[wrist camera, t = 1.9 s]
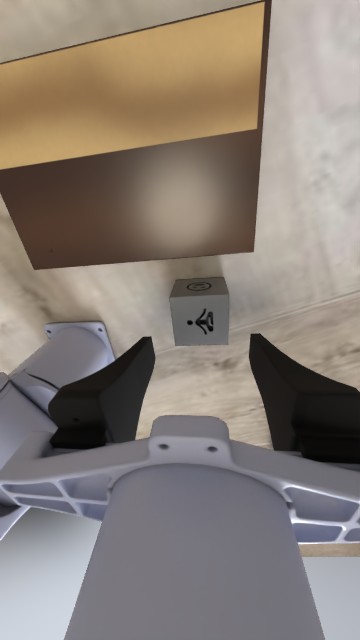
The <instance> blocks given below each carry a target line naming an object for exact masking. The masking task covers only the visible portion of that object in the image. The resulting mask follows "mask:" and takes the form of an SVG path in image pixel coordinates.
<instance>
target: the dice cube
mask: <svg viewBox="0 0 360 640" xmlns="http://www.w3.org/2000/svg"><path fill="white" fill-rule="evenodd" d="M169 301H170V308H171V316H172V324H173V332H174V339H175V346H190V345H228V333H229V292H228V289H227V285H226V282H225V279H224V277H213V278H197V279H182V280H176V281H175V284H174V286H173V289H172V291H171V294H170V297H169Z"/></svg>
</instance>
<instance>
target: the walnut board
mask: <svg viewBox="0 0 360 640" xmlns="http://www.w3.org/2000/svg"><path fill="white" fill-rule="evenodd" d="M271 4H272V0H261V1H257V2H253V3H249V4H245V5H240V6H236V7H232V8H228V9H224V10H220V11H215V12H211V13H207V14H203V15H199V16H194V17H190V18H186V19H182V20H178V21H174V22H169V23H165V24H161V25H157V26H153V27H149V28H144V29H140V30H136V31H132V32H128V33H124V34H119V35H115V36H111V37H107V38H103V39H99V40H94V41H90V42H86V43H82V44H78V45H73V46H69V47H65V48H61V49H57V50H53V51H48V52H44V53H40V54H36V55H32V56H28V57H23V58H19V59H15V60H11V61H7V62H3V63H0V193H1V195H2V198H3V200H4V202H5V205H6V207H7V209H8V211H9V214H10V216H11V218H12V220H13V223H14V225H15V227H16V230H17V232H18V234H19V236H20V239H21V241H22V243H23V246H24V248H25V250H26V252H27V255H28V257H29V259H30V262H31V264H32V266H33V268H34V270H39V269H52V268H64V267H77V266H89V265H101V264H114V263H126V262H138V261H151V260H163V259H176V258H188V257H200V256H213V255H225V254H238V253H250V252H254V241H255V227H256V213H257V199H258V185H259V171H260V157H261V143H262V129H263V115H264V101H265V87H266V73H267V60H268V46H269V32H270V18H271Z"/></svg>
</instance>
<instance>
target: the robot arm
mask: <svg viewBox="0 0 360 640" xmlns="http://www.w3.org/2000/svg"><path fill="white" fill-rule="evenodd" d="M100 328H101V329H102V330H100ZM44 329H45V331H46V333H47V335H48V337H49V341H48V342H47V343H45V344H44V345H43V346H42V347H41V348H39V349H38V350H37V351H36V352H35V353H34V354H32V355H31V356H30V357H29V358H28V359H26V360H25V361H24V362H23V363H22V364H20V365H19V366H18V367H17V368H16V369H15V370H13V371H12V372H11V373H10V374H9V375H7V374H5V373H4V372H0V540H1V539H2V538H3V537H4V536H5V534H6V533H7V532H8V531H9V529H10V528H11V527H12V526H13V524H14V523H15V522H16V521H17V520H18V519H19V518H20V517H21V516H22V515H23V514H24V513H25V512H26V511H27V510H28V509H29V508H30V507H37V508H42V509H49V510H53V511H58V512H63V513H67V514H71V515H75V516H80V517H84V518H88V519H92V520H97V521H101V522H102V524H101V528H100V530H99V533H98V536H97V540H96V543H95V546H94V549H93V552H92V555H91V558H90V561H89V564H88V568H87V570H86V573H85V577H84V580H83V583H82V586H81V589H80V592H79V595H78V598H77V601H76V604H75V608H74V611H73V614H72V617H71V620H70V623H69V626H68V629H67V632H66V635H65V638H64V640H325V638H324V634H323V630H322V627H321V623H320V620H319V616H318V613H317V609H316V606H315V602H314V599H313V596H312V592H311V588H310V585H309V582H308V578H307V574H306V571H305V567H304V564H303V560H302V557H301V553H300V550H299V546H298V544H315V543H360V392H359V391H358V390H357V389H356V388H354V387H351V386H348V385H346V384H343V383H340V382H337V381H334V380H332V379H329V378H327V377H325V376H322V375H320V374H318V373H316V372H314V371H312V370H310V369H308V368H306V367H304V366H302V365H301V364H299V363H297V362H296V361H294V360H293V359H291V358H289V357H288V356H287V355H285V354H284V353H283V352H281V351H280V350H279V349H277V348H276V347H275V346H274V345H272V344H271V343H270V342H269V341H268V340H267V339H266V338H264V337H263V336H262V335H261V334H260V333H259V334H251V337H250V349H249V360H250V365H251V369H252V372H253V375H254V378H255V380H256V383H257V386H258V389H259V391H260V394H261V397H262V400H263V404H264V408H265V412H266V416H267V420H268V425H269V429H270V434H271V438H272V443H273V448H274V450H270V449H266V448H262V447H258V446H255V445H251V444H247V443H243V442H239V441H235V440H231V439H229V430H228V427H227V425H226V423H225V422H223V421H222V420H220V419H219V418H217V417H212V416H191V415H164V416H159V417H158V418H157V419H155V420H154V421H153V425H152V429H151V433H150V437H149V438H144V439H139V440H135V437H136V431H137V426H138V421H139V416H140V411H141V407H142V402H143V399H144V395H145V392H146V389H147V387H148V384H149V381H150V378H151V375H152V372H153V369H154V364H155V353H154V348H153V343H152V338H151V337H142V338H141V339H140V340H139V341H138V342H137V343H136V344H135V345H133V346H132V347H131V348H130V349H129V350H128V351H126V352H125V353H124V354H123V355H121V356H120V357H119V358H118V359H116V360H115V358H114V355H113V352H112V348H111V345H110V342H109V339H108V336H107V333H106V329H105V326H104V324H103V323H102V322H75V323H50V324H46V325H44ZM49 330H50V331H49Z"/></svg>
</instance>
